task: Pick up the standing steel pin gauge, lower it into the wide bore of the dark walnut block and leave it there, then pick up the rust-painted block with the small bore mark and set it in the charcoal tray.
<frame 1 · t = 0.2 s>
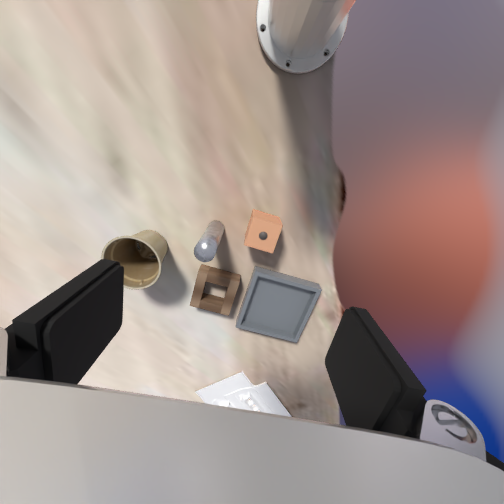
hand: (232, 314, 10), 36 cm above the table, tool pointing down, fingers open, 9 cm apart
white flat piece: (246, 411, 66), on the table
steel pin: (216, 228, 46), on the table
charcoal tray: (276, 302, 52), on the table
flower pot: (152, 245, 48), on the table
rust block: (262, 225, 46), on the table
walnut bore block: (216, 286, 51), on the table
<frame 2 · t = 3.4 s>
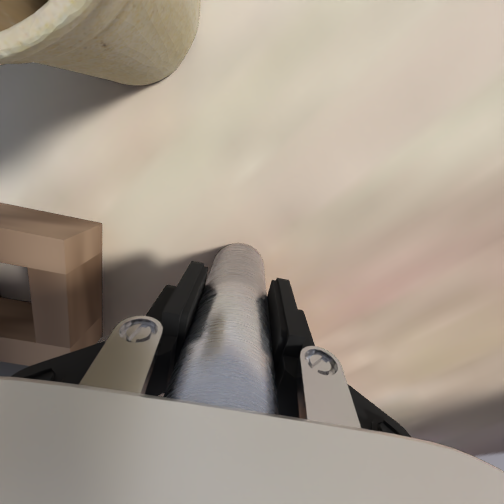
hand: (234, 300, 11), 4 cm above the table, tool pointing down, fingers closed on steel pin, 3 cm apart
steel pin: (238, 266, 15), on the table, touching gripper
flower pot: (128, 5, 11), on the table
walnut bore block: (34, 272, 15), on the table
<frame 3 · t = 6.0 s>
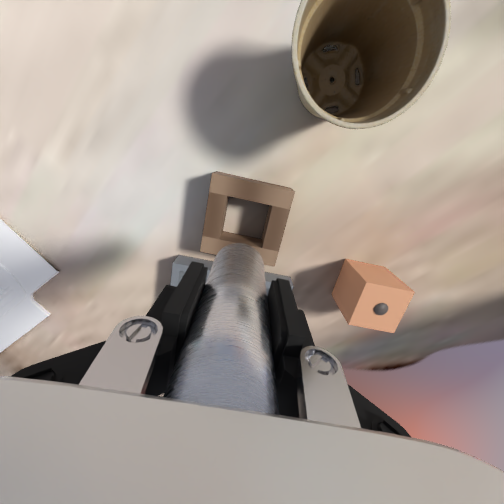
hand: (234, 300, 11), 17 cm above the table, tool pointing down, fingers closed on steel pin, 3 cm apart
steel pin: (238, 266, 15), point 14 cm above the table, touching gripper
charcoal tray: (225, 312, 32), on the table
flower pot: (328, 83, 23), on the table
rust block: (357, 280, 30), on the table
walnut bore block: (246, 216, 28), on the table
when the fingers open (5 cm above the table, at t = 8.9 s): steel pin stays where it is, resting in walnut bore block.
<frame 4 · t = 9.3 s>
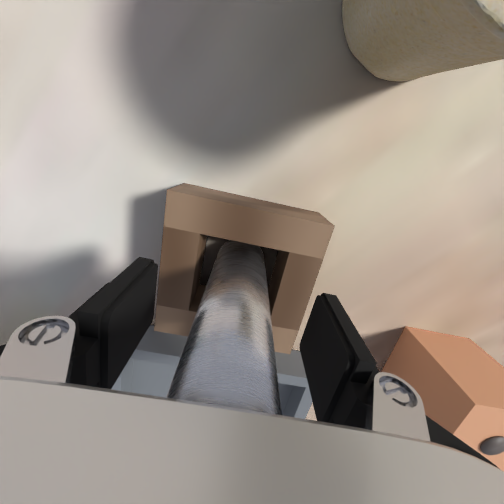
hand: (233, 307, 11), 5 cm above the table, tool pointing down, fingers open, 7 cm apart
steel pin: (240, 260, 16), resting in walnut bore block
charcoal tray: (208, 403, 20), on the table
flower pot: (404, 6, 11), on the table
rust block: (421, 358, 19), on the table
walnut bore block: (239, 260, 16), on the table
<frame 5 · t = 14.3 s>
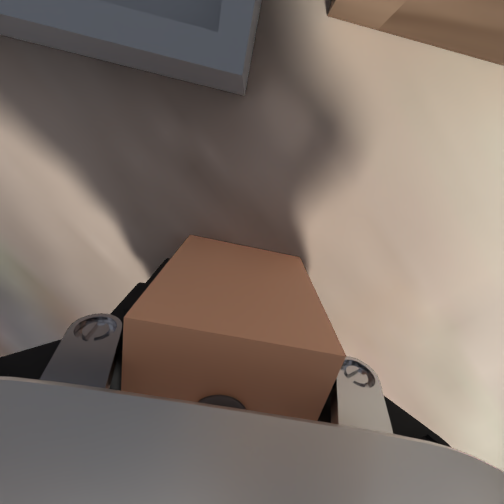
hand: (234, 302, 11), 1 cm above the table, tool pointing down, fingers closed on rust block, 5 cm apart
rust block: (235, 293, 12), on the table, touching gripper
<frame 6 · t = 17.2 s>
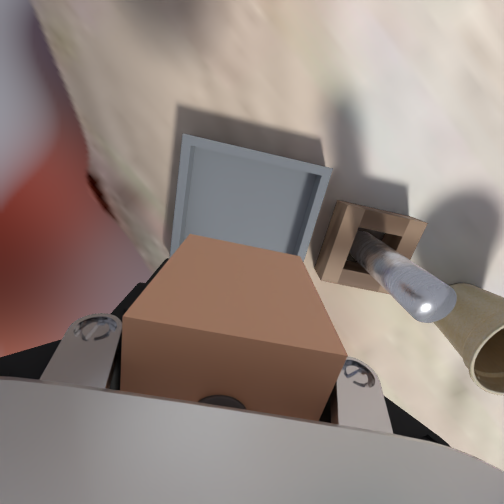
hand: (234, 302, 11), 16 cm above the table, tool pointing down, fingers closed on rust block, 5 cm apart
steel pin: (359, 244, 28), resting in walnut bore block
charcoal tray: (244, 218, 27), on the table
flower pot: (452, 303, 30), on the table
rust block: (235, 293, 12), point 16 cm above the table, touching gripper
walnut bore block: (359, 243, 27), on the table
when the fingers open (3 cm above the table, at t = 19.9 s): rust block drops 1 cm, resting on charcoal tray.
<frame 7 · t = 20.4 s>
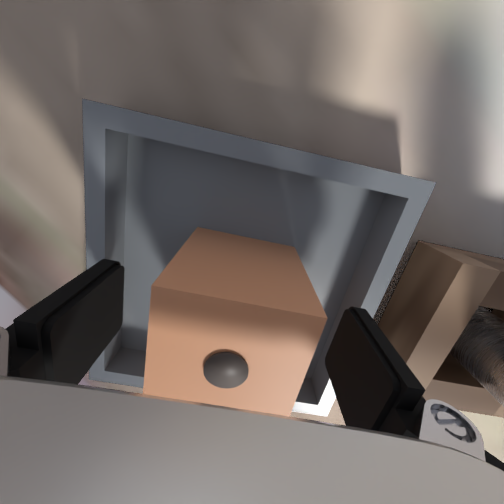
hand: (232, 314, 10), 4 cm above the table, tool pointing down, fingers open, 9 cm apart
steel pin: (450, 316, 15), resting in walnut bore block
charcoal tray: (237, 274, 14), on the table
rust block: (237, 280, 13), point 1 cm above the table, touching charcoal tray
walnut bore block: (450, 315, 15), on the table
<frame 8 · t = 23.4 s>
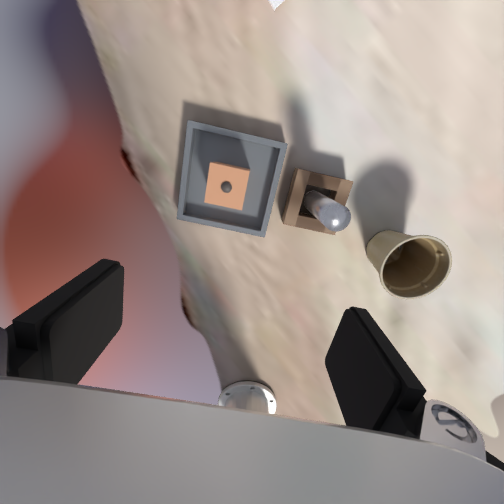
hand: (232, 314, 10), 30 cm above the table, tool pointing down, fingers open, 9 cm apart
steel pin: (312, 200, 39), resting in walnut bore block
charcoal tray: (230, 181, 38), on the table
flower pot: (383, 247, 42), on the table
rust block: (230, 182, 37), point 1 cm above the table, touching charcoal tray
walnut bore block: (312, 200, 39), on the table
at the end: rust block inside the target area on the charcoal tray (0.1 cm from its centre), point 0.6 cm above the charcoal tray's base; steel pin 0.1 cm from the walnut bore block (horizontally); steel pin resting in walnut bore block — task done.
